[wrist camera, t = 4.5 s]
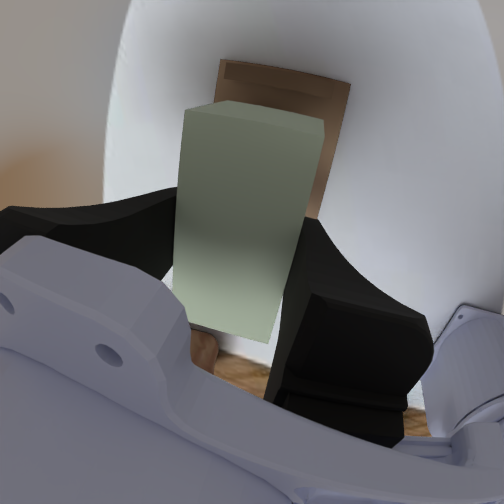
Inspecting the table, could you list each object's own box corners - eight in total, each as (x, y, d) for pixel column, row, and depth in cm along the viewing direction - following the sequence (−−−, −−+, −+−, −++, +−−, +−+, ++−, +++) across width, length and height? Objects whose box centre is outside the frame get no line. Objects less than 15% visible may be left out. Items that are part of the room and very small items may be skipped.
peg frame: (306, 250, 23) (304, 270, 21) (201, 224, 24) (188, 240, 22) (350, 84, 17) (354, 83, 15) (223, 59, 18) (209, 57, 15)
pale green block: (282, 279, 16) (268, 343, 12) (206, 259, 16) (172, 316, 13) (323, 119, 12) (324, 137, 8) (227, 100, 12) (184, 110, 8)
